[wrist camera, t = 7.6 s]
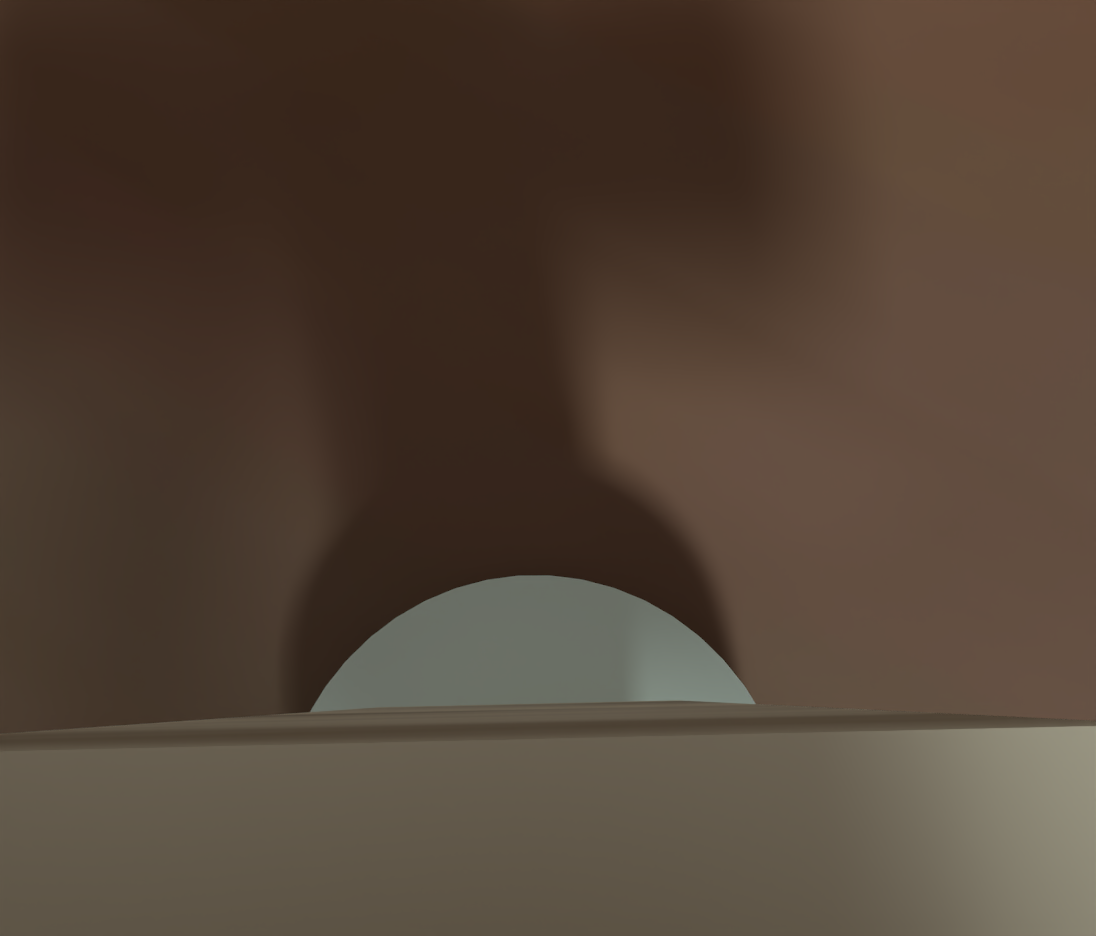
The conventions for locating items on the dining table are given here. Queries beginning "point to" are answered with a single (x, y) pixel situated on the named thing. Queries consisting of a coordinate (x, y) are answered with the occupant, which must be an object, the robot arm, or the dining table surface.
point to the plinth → (531, 651)
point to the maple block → (553, 823)
